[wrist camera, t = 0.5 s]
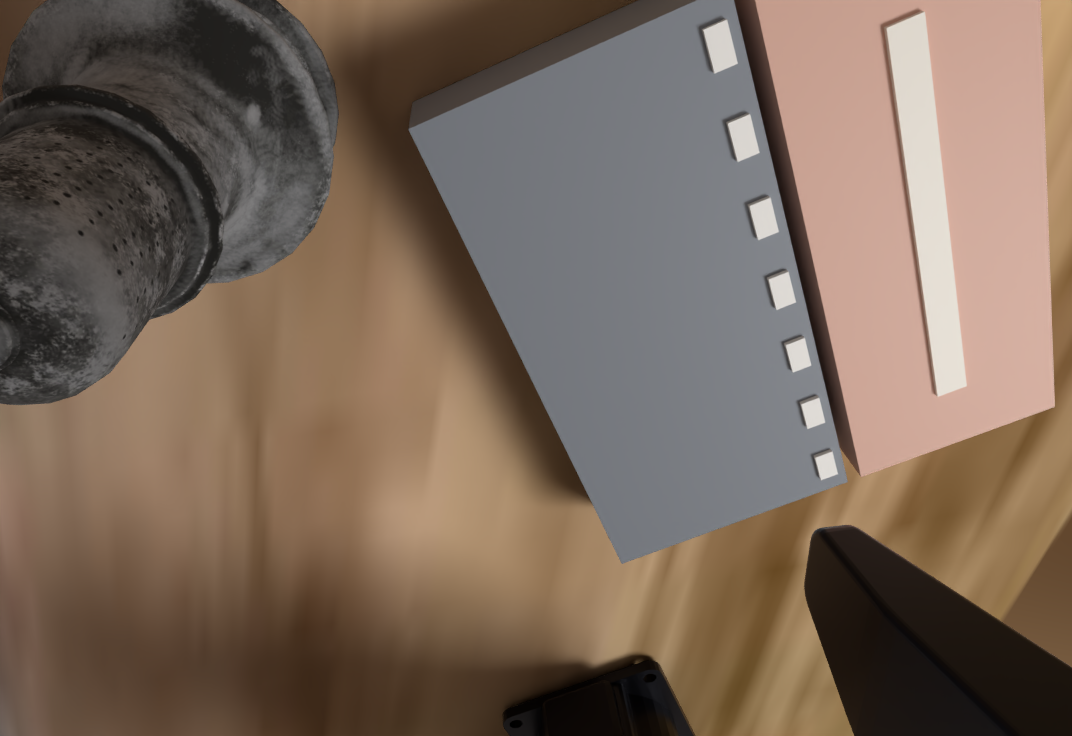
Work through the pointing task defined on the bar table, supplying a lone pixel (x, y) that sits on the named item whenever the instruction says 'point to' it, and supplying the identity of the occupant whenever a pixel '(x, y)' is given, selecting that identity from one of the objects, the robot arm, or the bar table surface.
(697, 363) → the grey flat block
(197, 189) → the dark grey tiered figure
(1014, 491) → the bar table surface
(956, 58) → the pink block
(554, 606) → the bar table surface
